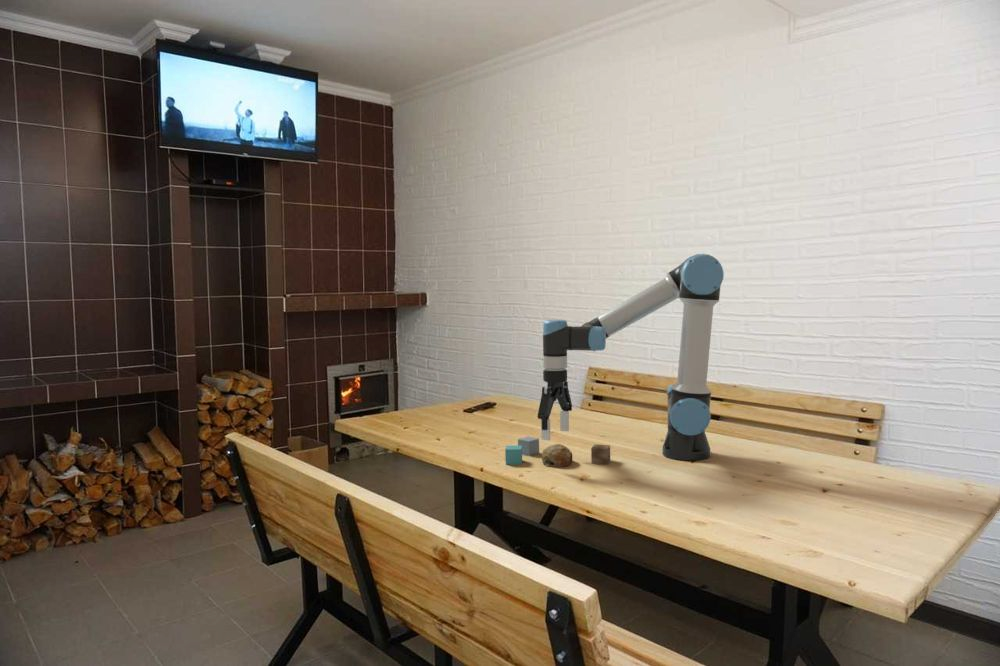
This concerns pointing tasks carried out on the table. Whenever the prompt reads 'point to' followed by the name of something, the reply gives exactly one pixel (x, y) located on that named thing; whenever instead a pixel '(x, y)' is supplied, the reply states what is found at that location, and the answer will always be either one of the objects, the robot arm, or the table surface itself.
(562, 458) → the bread roll
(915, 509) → the table surface
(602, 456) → the walnut block
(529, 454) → the slate grey block
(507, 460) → the dark teal block
